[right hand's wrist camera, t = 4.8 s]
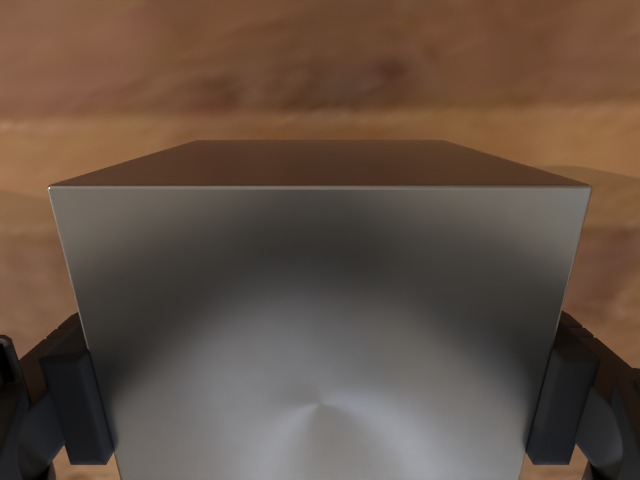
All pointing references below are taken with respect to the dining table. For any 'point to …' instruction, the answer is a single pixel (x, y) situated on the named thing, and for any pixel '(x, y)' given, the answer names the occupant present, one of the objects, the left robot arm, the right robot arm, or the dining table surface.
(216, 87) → the dining table surface
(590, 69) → the dining table surface
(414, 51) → the dining table surface
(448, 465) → the block
